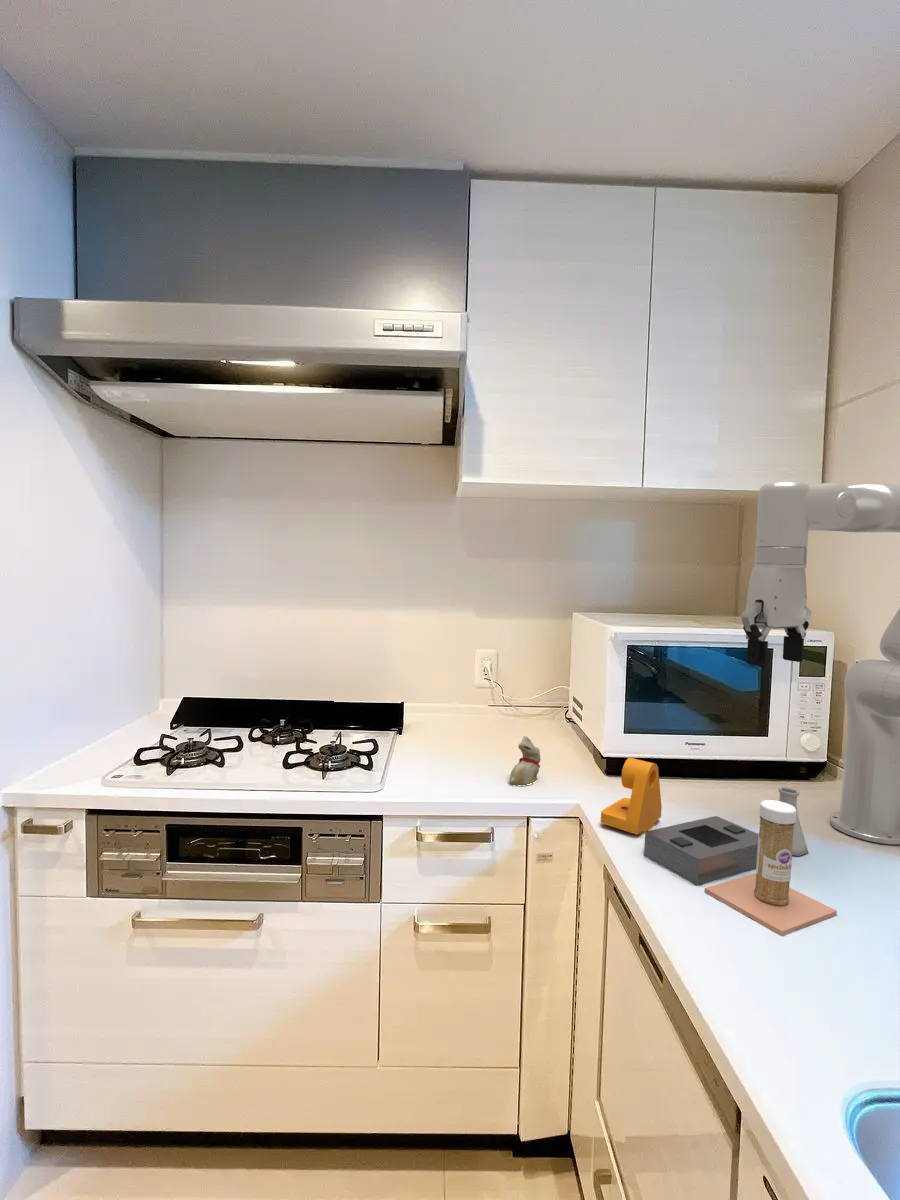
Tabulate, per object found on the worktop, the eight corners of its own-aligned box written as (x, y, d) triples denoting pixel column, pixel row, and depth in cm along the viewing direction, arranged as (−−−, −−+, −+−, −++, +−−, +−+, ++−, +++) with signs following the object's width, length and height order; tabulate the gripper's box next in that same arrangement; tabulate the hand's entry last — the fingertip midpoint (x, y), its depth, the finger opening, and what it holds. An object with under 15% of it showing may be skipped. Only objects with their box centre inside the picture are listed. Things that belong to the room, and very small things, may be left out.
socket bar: (714, 838, 112) (716, 814, 112) (770, 864, 103) (772, 838, 103) (643, 855, 104) (645, 830, 104) (697, 885, 95) (699, 858, 95)
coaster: (758, 875, 99) (758, 872, 99) (836, 915, 88) (836, 910, 88) (704, 892, 93) (704, 887, 93) (781, 935, 83) (782, 931, 83)
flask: (766, 834, 115) (770, 779, 115) (812, 847, 111) (816, 790, 110) (756, 847, 109) (760, 789, 109) (803, 861, 105) (808, 801, 104)
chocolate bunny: (546, 785, 136) (549, 738, 135) (512, 787, 134) (514, 739, 133) (535, 776, 141) (538, 731, 141) (502, 778, 139) (504, 732, 138)
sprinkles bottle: (773, 909, 88) (780, 812, 87) (746, 892, 92) (752, 800, 91) (797, 903, 90) (804, 808, 89) (769, 887, 94) (775, 797, 93)
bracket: (623, 810, 123) (627, 749, 123) (660, 821, 119) (664, 757, 118) (598, 826, 115) (602, 760, 114) (637, 839, 111) (641, 770, 110)
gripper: (789, 559, 113) (784, 656, 114) (726, 557, 104) (721, 662, 105) (833, 559, 106) (827, 662, 108) (769, 558, 98) (763, 670, 99)
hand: (775, 662), depth 106 cm, fingers open, 9 cm apart
